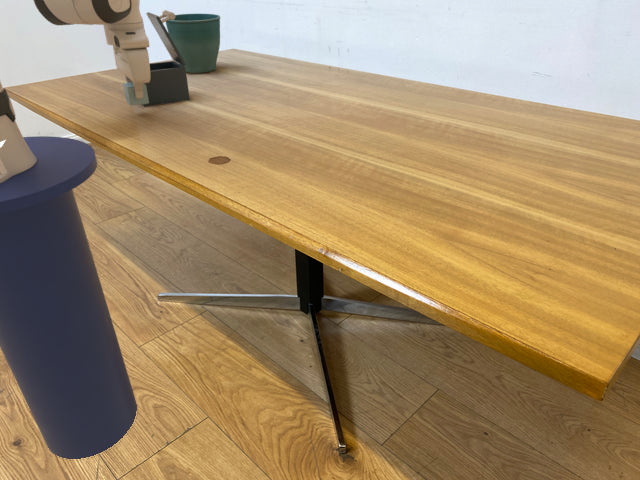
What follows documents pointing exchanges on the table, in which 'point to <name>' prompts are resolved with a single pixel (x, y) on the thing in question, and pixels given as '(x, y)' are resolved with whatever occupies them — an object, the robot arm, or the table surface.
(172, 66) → the dark grey open box
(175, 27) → the flower pot
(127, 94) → the block
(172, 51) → the lid
